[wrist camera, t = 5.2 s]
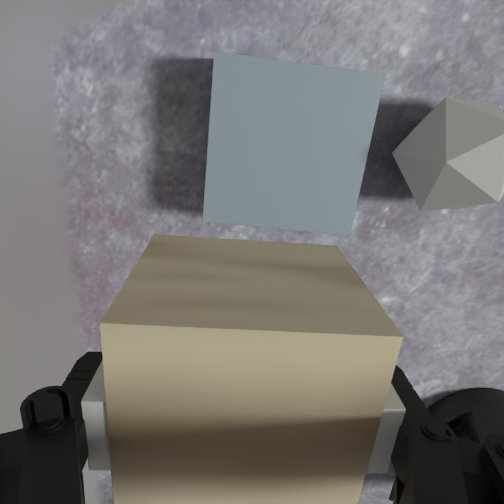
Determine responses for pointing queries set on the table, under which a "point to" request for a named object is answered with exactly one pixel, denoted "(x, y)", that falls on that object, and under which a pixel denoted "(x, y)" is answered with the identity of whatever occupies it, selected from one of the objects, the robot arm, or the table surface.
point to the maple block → (244, 374)
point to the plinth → (287, 143)
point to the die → (455, 155)
